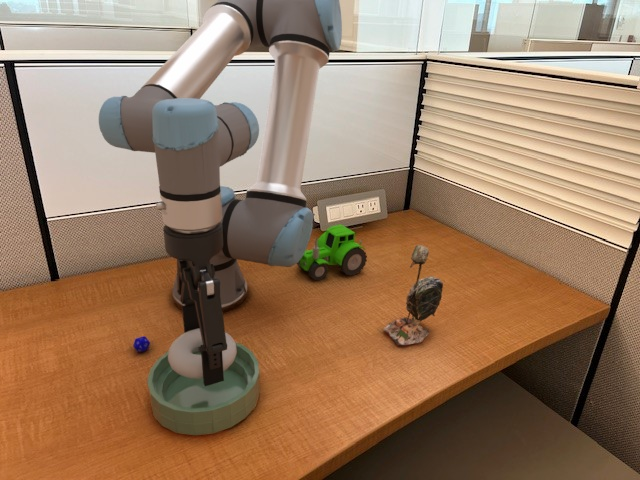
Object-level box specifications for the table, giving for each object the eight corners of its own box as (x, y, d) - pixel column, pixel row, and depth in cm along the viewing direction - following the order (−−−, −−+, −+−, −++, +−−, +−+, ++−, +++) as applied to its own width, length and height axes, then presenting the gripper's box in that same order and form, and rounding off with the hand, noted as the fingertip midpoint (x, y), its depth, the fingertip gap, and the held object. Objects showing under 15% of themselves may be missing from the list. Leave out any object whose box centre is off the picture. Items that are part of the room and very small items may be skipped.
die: (143, 357, 83) (131, 346, 82) (140, 354, 85) (127, 343, 84) (155, 345, 84) (143, 334, 83) (151, 342, 86) (139, 331, 85)
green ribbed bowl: (142, 379, 78) (139, 354, 76) (239, 352, 85) (238, 329, 83) (163, 454, 65) (159, 427, 63) (275, 415, 72) (275, 389, 70)
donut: (204, 394, 66) (250, 355, 73) (202, 375, 64) (250, 337, 72) (154, 367, 70) (203, 333, 78) (151, 348, 69) (201, 315, 77)
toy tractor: (288, 267, 115) (289, 229, 110) (343, 252, 123) (346, 216, 119) (313, 287, 106) (315, 247, 102) (370, 270, 115) (374, 232, 110)
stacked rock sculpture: (448, 340, 91) (465, 245, 82) (394, 350, 87) (406, 252, 79) (426, 316, 98) (440, 226, 89) (375, 325, 94) (385, 232, 86)
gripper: (147, 199, 70) (162, 326, 79) (184, 264, 52) (198, 419, 61) (198, 192, 73) (207, 315, 82) (250, 252, 55) (253, 401, 64)
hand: (203, 359), depth 72 cm, fingers closed on donut, 10 cm apart
